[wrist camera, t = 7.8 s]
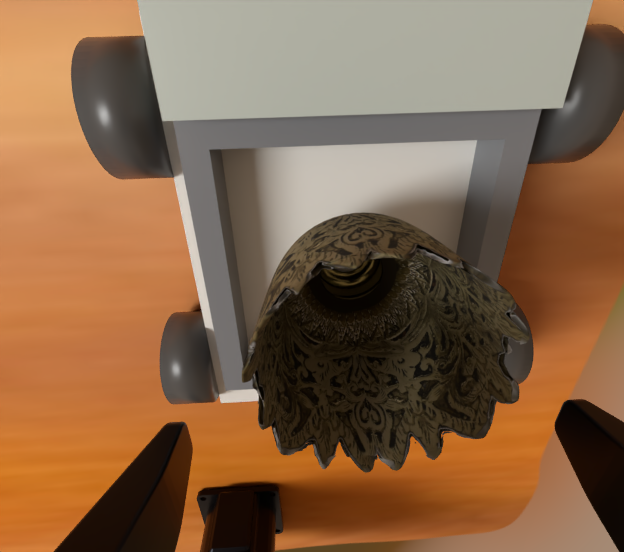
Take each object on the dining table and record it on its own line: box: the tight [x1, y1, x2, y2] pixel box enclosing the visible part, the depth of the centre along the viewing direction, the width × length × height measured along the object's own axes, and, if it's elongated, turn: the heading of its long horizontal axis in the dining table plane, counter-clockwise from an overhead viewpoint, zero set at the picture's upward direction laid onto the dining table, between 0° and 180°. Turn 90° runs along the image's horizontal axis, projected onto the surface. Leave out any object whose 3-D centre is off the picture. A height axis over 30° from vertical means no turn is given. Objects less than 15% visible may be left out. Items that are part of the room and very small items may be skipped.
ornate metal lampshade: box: [242, 212, 530, 472], centre depth 13 cm, size 8×7×8 cm
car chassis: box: [71, 0, 624, 404], centre depth 16 cm, size 18×18×6 cm
